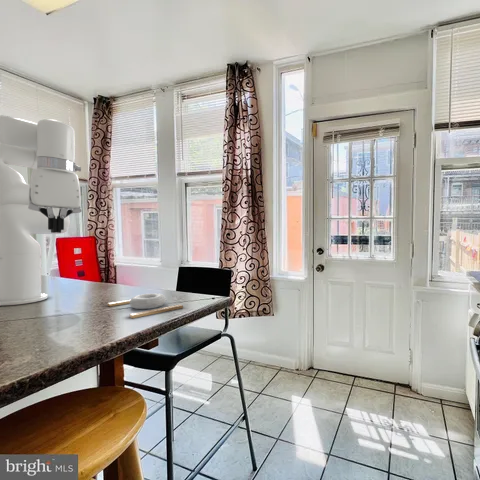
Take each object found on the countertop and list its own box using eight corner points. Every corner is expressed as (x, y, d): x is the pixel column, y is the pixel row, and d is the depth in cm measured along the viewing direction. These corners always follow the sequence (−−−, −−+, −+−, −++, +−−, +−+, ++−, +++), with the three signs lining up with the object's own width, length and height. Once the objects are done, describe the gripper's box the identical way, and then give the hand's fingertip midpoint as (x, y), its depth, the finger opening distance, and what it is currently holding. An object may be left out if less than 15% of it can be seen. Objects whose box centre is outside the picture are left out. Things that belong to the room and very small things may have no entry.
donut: (161, 301, 94) (126, 305, 87) (161, 291, 94) (126, 294, 87) (170, 307, 87) (132, 312, 80) (170, 296, 87) (133, 300, 80)
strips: (107, 305, 86) (107, 303, 86) (154, 297, 98) (154, 295, 97) (132, 318, 74) (132, 315, 74) (182, 308, 86) (183, 305, 86)
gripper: (86, 173, 84) (86, 232, 84) (14, 162, 72) (14, 231, 72) (94, 171, 79) (93, 233, 80) (18, 158, 67) (18, 232, 68)
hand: (56, 232), depth 76 cm, fingers closed
